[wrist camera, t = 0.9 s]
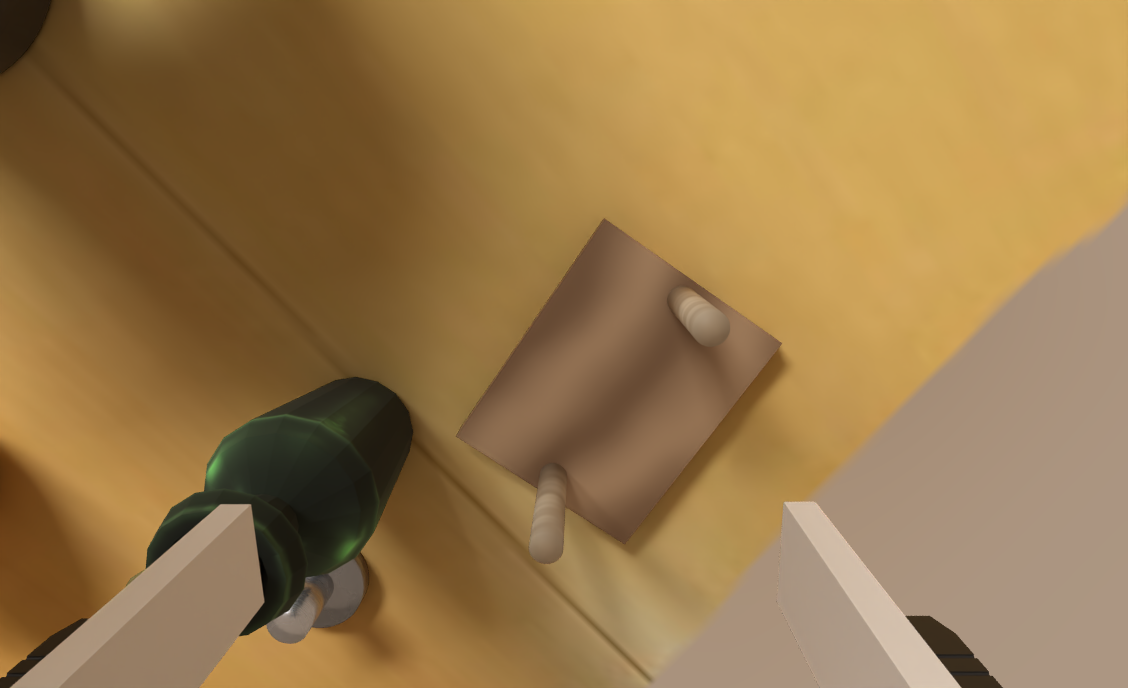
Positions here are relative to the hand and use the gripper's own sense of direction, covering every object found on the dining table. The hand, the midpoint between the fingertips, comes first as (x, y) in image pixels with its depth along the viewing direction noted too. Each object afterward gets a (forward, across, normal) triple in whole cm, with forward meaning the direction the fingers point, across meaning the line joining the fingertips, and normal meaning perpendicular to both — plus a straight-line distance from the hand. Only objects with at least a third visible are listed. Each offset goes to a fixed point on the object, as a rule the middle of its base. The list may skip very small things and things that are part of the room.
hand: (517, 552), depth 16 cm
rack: (+22, +4, -2) cm, 22 cm away
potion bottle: (+22, -12, -5) cm, 26 cm away
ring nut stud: (+22, -15, -15) cm, 30 cm away
